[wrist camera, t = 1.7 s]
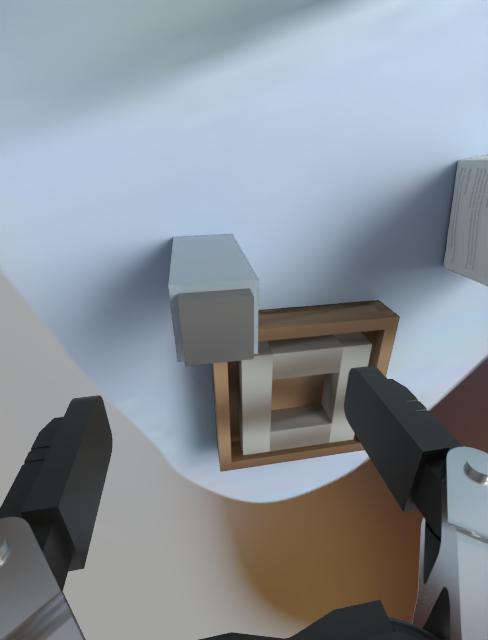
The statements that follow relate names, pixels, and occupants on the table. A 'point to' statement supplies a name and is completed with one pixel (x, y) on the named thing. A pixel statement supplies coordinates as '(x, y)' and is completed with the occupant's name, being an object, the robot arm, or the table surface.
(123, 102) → the table surface
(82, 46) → the table surface
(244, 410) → the walnut box
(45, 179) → the table surface
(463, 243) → the skincare box
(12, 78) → the table surface
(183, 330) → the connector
